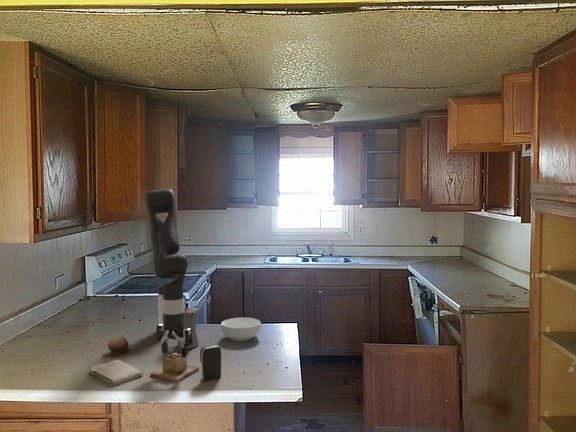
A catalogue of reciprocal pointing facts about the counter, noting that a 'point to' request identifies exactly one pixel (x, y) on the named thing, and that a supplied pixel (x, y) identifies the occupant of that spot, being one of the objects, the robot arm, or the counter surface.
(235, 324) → the cereal bowl
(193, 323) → the coffeepot
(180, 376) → the post base
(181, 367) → the collar
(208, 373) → the battery charger
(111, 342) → the brown round lump
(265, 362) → the counter surface
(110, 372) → the washcloth
